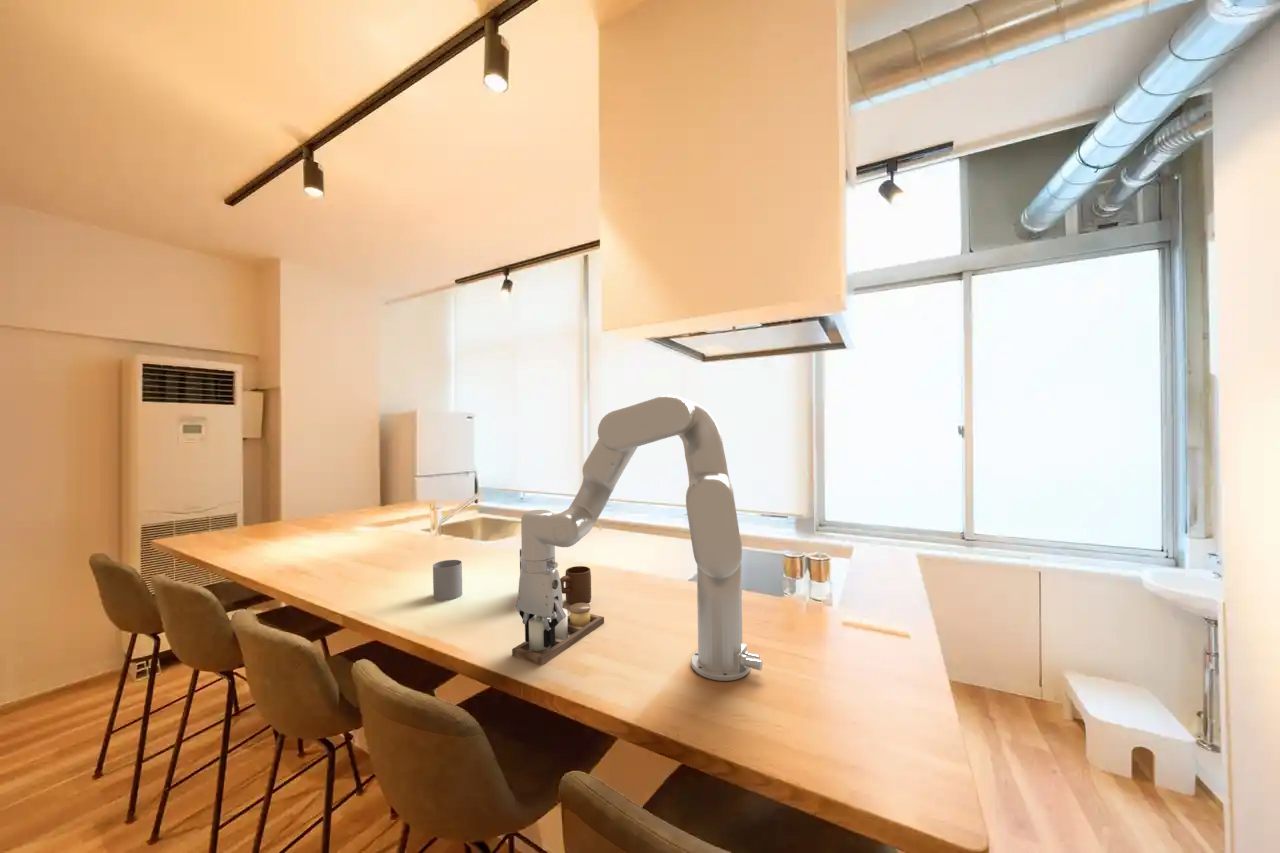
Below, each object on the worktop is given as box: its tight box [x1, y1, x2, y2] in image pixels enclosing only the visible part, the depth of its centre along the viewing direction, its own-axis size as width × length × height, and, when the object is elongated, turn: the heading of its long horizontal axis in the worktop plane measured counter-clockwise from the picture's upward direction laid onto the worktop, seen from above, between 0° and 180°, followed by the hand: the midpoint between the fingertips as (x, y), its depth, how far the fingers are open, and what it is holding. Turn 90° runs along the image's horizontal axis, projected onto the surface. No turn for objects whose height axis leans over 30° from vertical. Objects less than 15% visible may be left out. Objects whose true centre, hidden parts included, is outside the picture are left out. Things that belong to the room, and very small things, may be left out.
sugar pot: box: [529, 615, 551, 652], centre depth 108 cm, size 5×5×7 cm
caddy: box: [511, 613, 605, 666], centre depth 115 cm, size 9×24×2 cm, turn 150°
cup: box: [432, 559, 463, 602], centre depth 145 cm, size 8×8×10 cm
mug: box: [560, 565, 592, 606], centre depth 137 cm, size 12×8×9 cm, turn 147°
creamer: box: [555, 608, 569, 640], centre depth 116 cm, size 6×4×6 cm
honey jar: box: [569, 602, 591, 627], centre depth 122 cm, size 5×5×5 cm
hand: (540, 641), depth 108 cm, fingers closed on sugar pot, 5 cm apart
